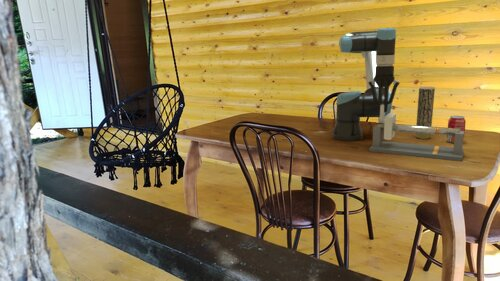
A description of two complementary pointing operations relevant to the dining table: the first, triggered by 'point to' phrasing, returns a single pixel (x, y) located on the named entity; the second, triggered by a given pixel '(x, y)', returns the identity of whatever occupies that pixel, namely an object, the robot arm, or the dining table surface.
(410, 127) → the pipe
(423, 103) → the wooden log
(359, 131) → the robot arm
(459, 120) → the soda can
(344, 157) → the dining table surface
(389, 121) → the collar
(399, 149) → the pipe stand
